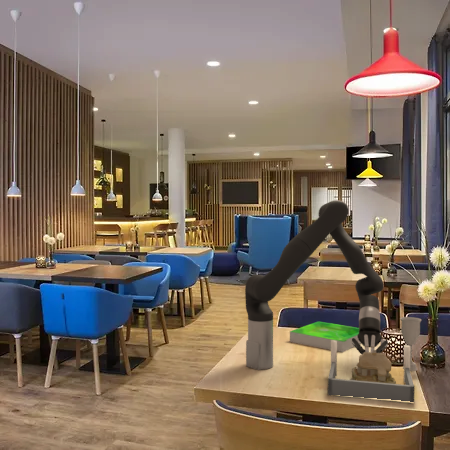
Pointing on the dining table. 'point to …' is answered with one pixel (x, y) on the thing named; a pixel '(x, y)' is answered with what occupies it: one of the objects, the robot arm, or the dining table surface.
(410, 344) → the chalice
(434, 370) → the dining table surface
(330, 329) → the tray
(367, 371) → the ceramic model
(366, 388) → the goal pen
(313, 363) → the dining table surface
